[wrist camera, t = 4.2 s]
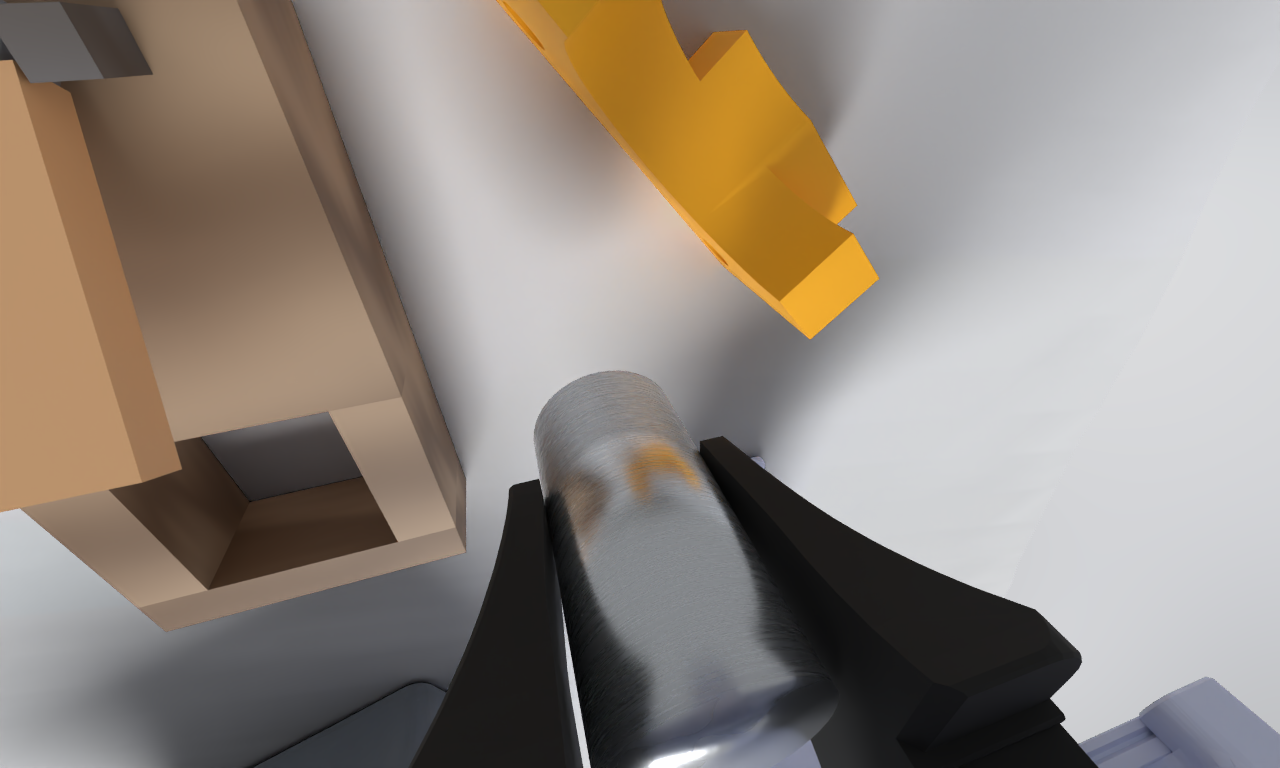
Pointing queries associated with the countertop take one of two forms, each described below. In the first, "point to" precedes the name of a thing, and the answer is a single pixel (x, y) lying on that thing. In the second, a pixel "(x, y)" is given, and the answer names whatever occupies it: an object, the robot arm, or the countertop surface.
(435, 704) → the storage bin
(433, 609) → the countertop surface
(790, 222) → the pipe clamp
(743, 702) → the peg
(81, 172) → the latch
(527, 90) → the countertop surface
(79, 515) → the wooden box
